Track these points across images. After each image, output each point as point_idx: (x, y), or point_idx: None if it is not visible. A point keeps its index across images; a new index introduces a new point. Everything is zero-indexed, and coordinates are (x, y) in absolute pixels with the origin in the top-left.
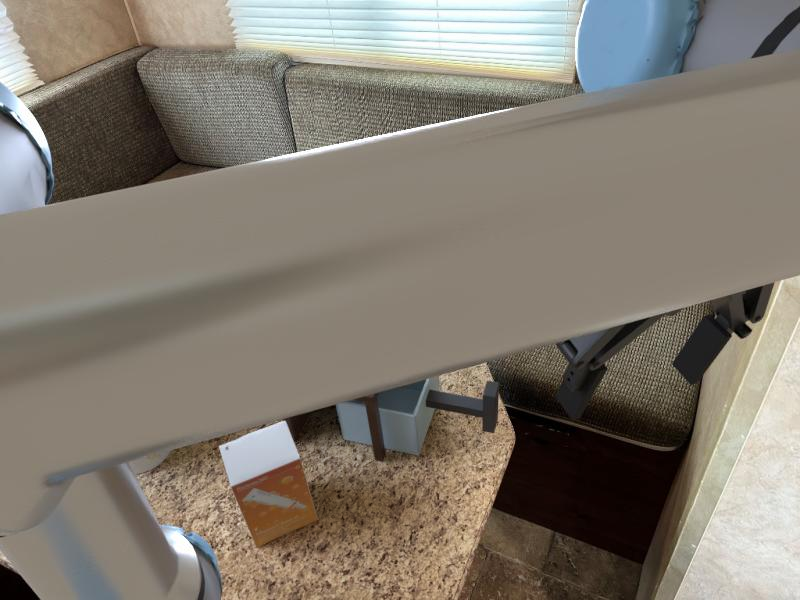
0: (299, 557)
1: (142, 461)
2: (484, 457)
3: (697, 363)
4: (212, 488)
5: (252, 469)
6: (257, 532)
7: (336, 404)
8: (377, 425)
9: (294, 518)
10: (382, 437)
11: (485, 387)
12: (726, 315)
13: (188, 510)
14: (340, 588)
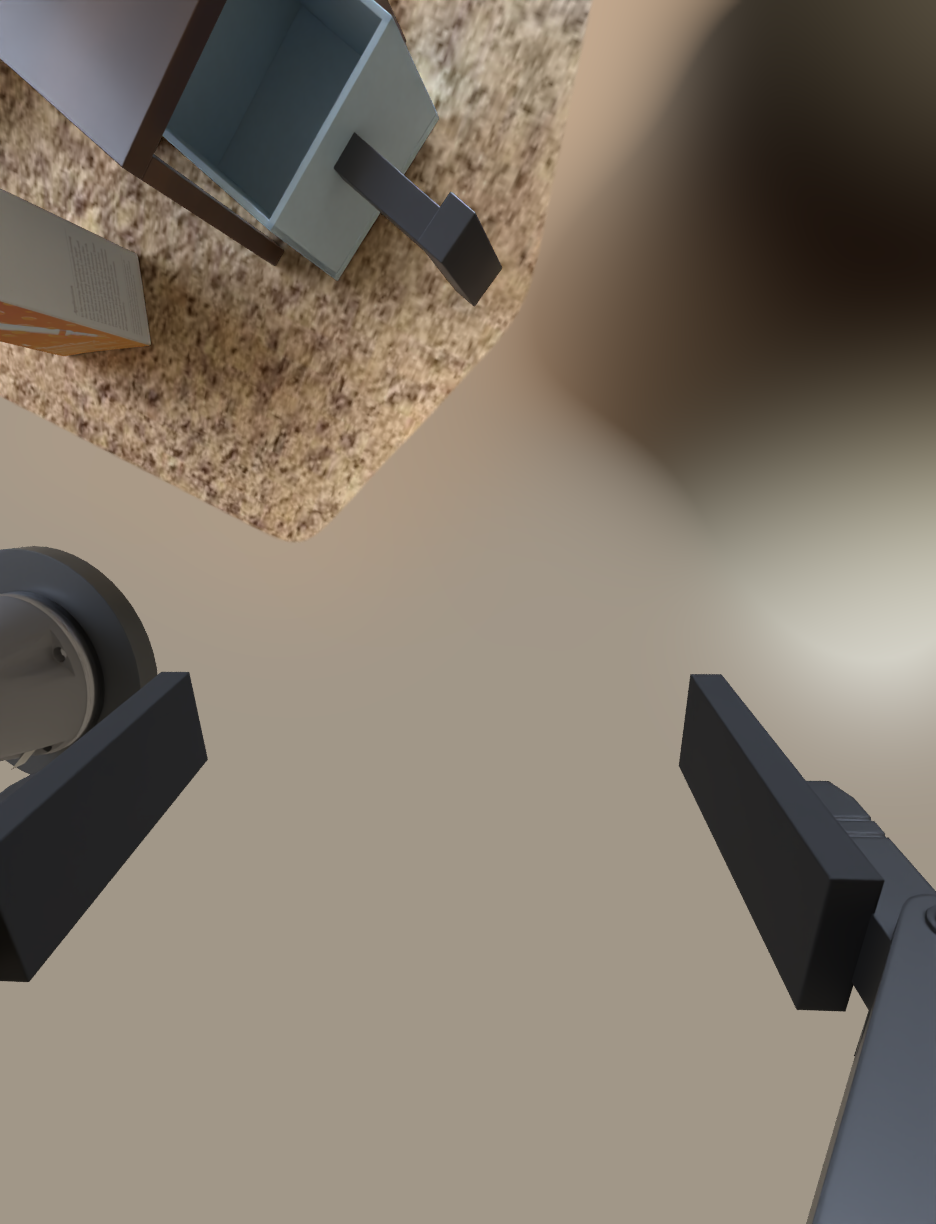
0: (120, 399)
1: None
2: (454, 338)
3: (712, 800)
4: None
5: None
6: (35, 347)
7: None
8: (199, 216)
9: (93, 342)
10: (246, 228)
11: (434, 216)
12: (832, 1137)
13: None
14: (165, 474)
